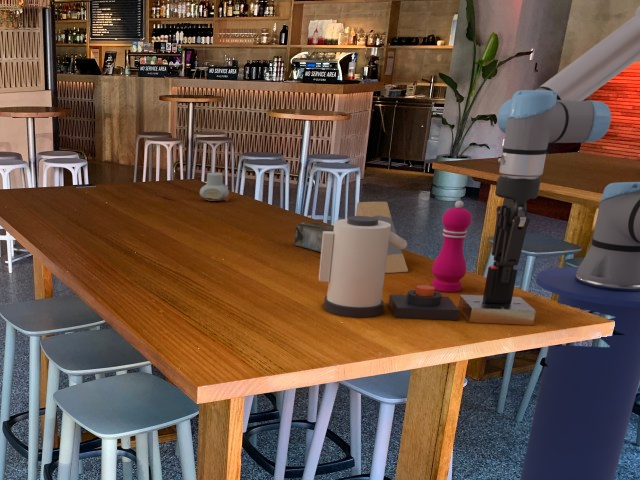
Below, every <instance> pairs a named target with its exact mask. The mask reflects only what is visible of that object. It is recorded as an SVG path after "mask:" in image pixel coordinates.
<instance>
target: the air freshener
mask: <svg viewBox="0 0 640 480" xmlns="http://www.w3.org/2000/svg"><path fill="white" fill-rule="evenodd" d="M223 180H224V174H223V173H222V172H208V173H207V174H206V184H205V185H203V186H202V187H201V188H200V189H199V196H200V198H202V197H203V198H212V199H222V200H208V199H204V201H207V200H208V201H207V202H209V201H218V202H222V201H224V200H225V199H227V198H228V197H229V196H230V195H229V194H230V191H229V189H228V187H227V186H226V185H224V184H223V182H224V181H223ZM203 198H202V199H203ZM223 198H225V199H223Z"/></svg>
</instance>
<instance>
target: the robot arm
mask: <svg viewBox="0 0 640 480" xmlns="http://www.w3.org/2000/svg"><path fill="white" fill-rule="evenodd" d="M638 60H640V5H639V6H638V7H637V8H636V9H635V12H634V14H633V16H632V17H631V18H630V19H629V20H627V21H626V22H624V23H623V24H622V25H620V26H619V27H617V29H615V30H614V31H612V32H611V33H609V34H608V35H607V36H606V37H604V38H602V39H601V40H600V41H599V42H597V43H596V44H595V45H594V46H592V47H590V48H589V49H588V50H587V51H586V52H584V53H583V54H581V55H580V56H579V57H578V58H576V59H574V61H572V62H571V63H569V64H568V65H567V66H566V67H564V68H563V69H561V70H560V71H559V72H557V73H556V74H555V75H553V76H552V77H551V78H549V79H548V80H547V81H545V82H544V83H543V84H541V85H540V86H539V87H537V88H536V89H535V90H534V89H533V90H532V89H523V90H522V89H521V90H517V91H516V92H514V93H513V95H512V98H510V99H508V100H506V101H505V102H504V103H503V104H502V105H501V106H500V108H499V110H498V113H497V119H496V120H497V125H498V128H499V130H500V131H501V132H502V133H503V134H504V139H503V140H504V141H503V146H502V152H501V157H499V158H498V159H497V162H498V163H499V171H498V172H499V174H500V175H499V176H498V177H497V180H496V187H495V191H494V194H495V196H496V197H498V198H501V199H503V201H502V205H498V206H496V210H495V211H496V217H495V226H494V233H493V242H492V249H491V256H492V257H493V265H492V266H496V267H497V273H496V278H495V284H494V290H493V295H492V297H493V298H508V293H509V287H510V282H511V277H512V271H513V268H515V266H518V265H519V263H520V259H521V255H522V250H523V247H524V242H525V237H526V233H527V229H528V226H529V224H530V222H531V217H530V216H528V208H527V201H528V200H535V199H537V197H538V196H539V191H540V187H541V178H539V177H540V176H542V175H544V174H543V173H544V169H545V168H544V167H545V163H546V157H547V151H548V146H549V144H574V143H576V144H582V145H583V144H585V143H593V142H598V141H600V139H602V138H603V137H604V136H605V135H606V134H607V133H608V130H609V129H610V125H611V121H612V113H611V109H610V108H609V105H608V104H606V103H605V102H603V101H597V100H590V99H589V100H588V99H587V98H588V97H590V96H591V95H592V94H593V93H595V92H596V91H598V90H599V89H600V88H601V87H603V86H604V85H606V84H607V83H608V82H610V81H611V80H612V79H614V78H615V77H617V76H618V75H619V74H621V73H622V72H624V71H625V70H626V69H628V68H629V67H630V66H631V65H633V64H634V63H636V62H637V61H638ZM586 99H587V100H586ZM596 215H597V216H596V220H595V226H594V231H593V235H592V240H591V245H590V247H589V249H588V252H587V253H586V255H585V256H584V258H583V260H582V261H581V263H580V264H579V266H578V267H579V268H578V270H577V272H576V276H575V281H577V282H578V283H580V284H583V285H586V286H589V287H593V288H598V289H603V290H610V291H621V292H640V181H622V182H611V183H608V184H607V185H606V186H605V187H604V189H603V193H602V195H601V199H600V200H599V205H598V211H597V214H596Z"/></svg>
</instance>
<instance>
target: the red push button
mask: <svg viewBox="0 0 640 480" xmlns="http://www.w3.org/2000/svg"><path fill="white" fill-rule="evenodd" d="M415 290H416V293H415V294H416V295H420V296H434V291H436V290H435V287H433V286H432V285H429V284H417V285H416V287H415Z"/></svg>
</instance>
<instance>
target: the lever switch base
mask: <svg viewBox="0 0 640 480" xmlns="http://www.w3.org/2000/svg"><path fill="white" fill-rule="evenodd" d="M457 308H458V309H459V313H461V314H462V315H463V316H464V318H465V319H466V320H467V321H468V323H471V324H472V323H473V324H474V323H475V324H498V325H517V326H518V325H520V326H521V325H522V326H534V322H535V317H536V311H537V310H536V309H535V308H534V307H533V306H531V304H529V303H528V302H527V301H525V300H524V299H523V298H522V297H521V296H512V301H511V304H502V303H485V302H484V301H483V294H482V295H481V294H480V295H479V294H478V295H477V294H459V299H458V304H457Z"/></svg>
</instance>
